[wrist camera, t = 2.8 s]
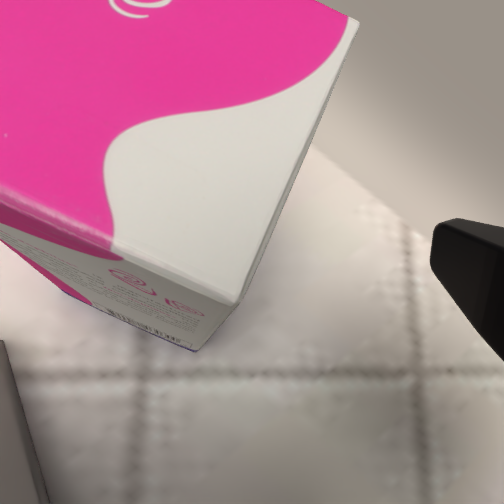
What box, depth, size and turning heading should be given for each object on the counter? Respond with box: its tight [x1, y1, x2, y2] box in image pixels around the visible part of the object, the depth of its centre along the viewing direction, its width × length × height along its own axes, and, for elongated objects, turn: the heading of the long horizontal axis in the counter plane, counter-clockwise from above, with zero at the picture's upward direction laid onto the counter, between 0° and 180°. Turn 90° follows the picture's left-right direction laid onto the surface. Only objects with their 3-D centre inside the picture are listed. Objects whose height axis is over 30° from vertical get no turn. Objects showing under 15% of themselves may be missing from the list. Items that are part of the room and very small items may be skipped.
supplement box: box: [0, 0, 360, 352], centre depth 13 cm, size 6×6×12 cm
